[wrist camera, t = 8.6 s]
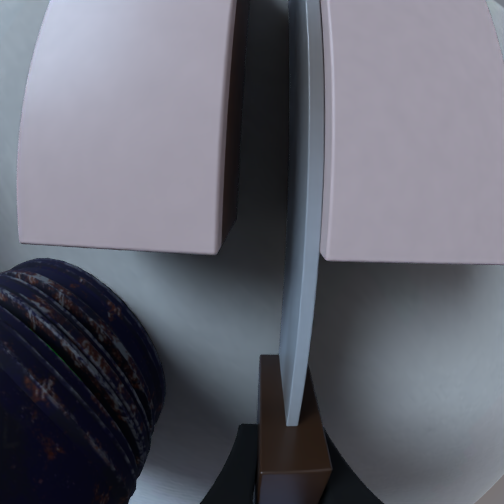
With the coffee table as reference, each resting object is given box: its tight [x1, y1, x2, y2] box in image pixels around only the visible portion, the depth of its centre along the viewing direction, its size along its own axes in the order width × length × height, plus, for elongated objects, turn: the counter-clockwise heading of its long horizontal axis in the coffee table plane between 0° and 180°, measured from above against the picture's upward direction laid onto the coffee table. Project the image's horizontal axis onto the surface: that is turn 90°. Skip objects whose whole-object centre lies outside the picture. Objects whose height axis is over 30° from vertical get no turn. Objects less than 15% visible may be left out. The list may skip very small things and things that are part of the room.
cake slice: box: [320, 0, 504, 265], centre depth 6 cm, size 9×4×5 cm, turn 178°
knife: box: [254, 0, 333, 504], centre depth 6 cm, size 20×2×5 cm, turn 179°
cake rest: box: [17, 0, 250, 255], centre depth 6 cm, size 9×4×5 cm, turn 177°
